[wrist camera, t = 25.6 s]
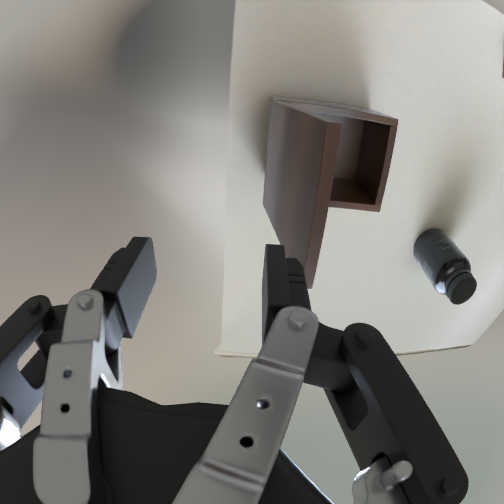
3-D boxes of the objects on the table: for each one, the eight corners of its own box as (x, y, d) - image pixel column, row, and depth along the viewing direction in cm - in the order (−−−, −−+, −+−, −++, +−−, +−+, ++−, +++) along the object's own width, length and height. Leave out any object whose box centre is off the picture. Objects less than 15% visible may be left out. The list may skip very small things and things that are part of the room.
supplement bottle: (434, 266, 45) (465, 312, 35) (406, 258, 44) (436, 307, 34) (452, 233, 42) (489, 276, 31) (424, 223, 41) (462, 267, 31)
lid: (341, 123, 14) (326, 121, 13) (312, 289, 19) (299, 290, 19) (279, 100, 25) (270, 99, 24) (270, 204, 30) (262, 204, 30)
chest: (369, 109, 32) (398, 119, 25) (357, 184, 38) (379, 212, 31) (271, 95, 32) (274, 99, 25) (265, 175, 38) (266, 202, 31)
